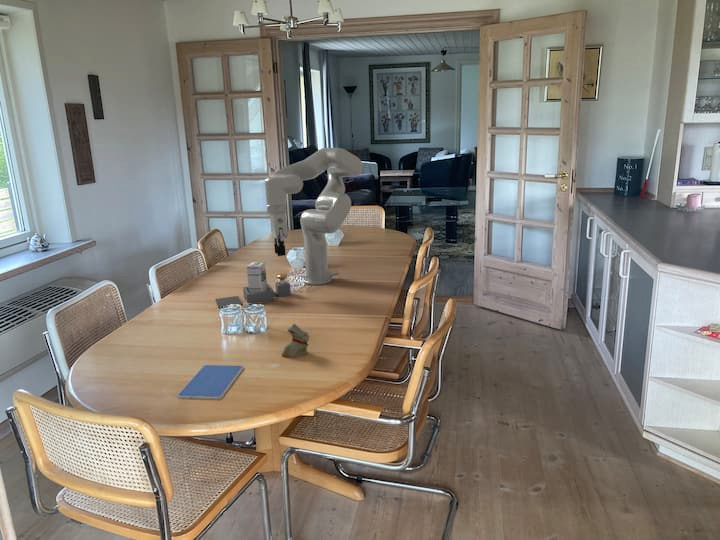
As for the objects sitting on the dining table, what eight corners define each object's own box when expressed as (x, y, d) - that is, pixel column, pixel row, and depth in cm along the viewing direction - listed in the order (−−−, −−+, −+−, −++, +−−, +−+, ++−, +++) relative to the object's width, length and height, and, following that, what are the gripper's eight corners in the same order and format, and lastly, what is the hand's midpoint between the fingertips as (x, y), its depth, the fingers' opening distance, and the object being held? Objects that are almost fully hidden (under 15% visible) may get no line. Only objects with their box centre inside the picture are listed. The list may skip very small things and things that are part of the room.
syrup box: (263, 301, 226) (260, 265, 222) (249, 300, 227) (246, 265, 223) (268, 296, 231) (265, 261, 227) (254, 296, 233) (251, 261, 229)
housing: (286, 290, 238) (285, 279, 237) (292, 297, 228) (291, 286, 227) (243, 296, 232) (242, 284, 231) (247, 304, 223) (246, 292, 221)
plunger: (286, 287, 234) (285, 273, 233) (288, 289, 230) (287, 275, 229) (277, 288, 233) (276, 274, 231) (279, 291, 229) (277, 276, 228)
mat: (238, 297, 232) (238, 295, 232) (242, 305, 222) (242, 303, 222) (215, 300, 229) (215, 298, 229) (218, 308, 219) (218, 307, 219)
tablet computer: (221, 401, 149) (220, 397, 148) (175, 400, 150) (174, 395, 150) (245, 369, 167) (244, 365, 167) (204, 368, 169) (203, 364, 168)
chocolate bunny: (306, 358, 172) (303, 327, 169) (280, 357, 173) (278, 326, 170) (310, 350, 177) (308, 320, 174) (286, 350, 178) (283, 319, 176)
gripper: (290, 211, 216) (294, 257, 221) (281, 205, 232) (285, 249, 237) (271, 213, 214) (275, 260, 219) (263, 206, 229) (267, 251, 234)
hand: (280, 253), depth 228 cm, fingers open, 4 cm apart
